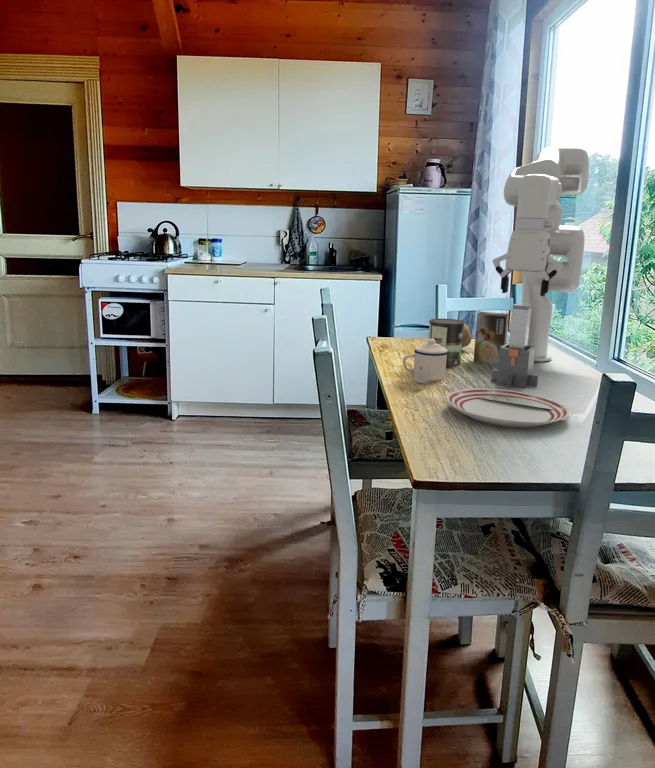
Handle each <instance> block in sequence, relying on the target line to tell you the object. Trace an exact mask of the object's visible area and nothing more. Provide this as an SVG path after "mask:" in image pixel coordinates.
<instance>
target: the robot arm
mask: <svg viewBox="0 0 655 768" xmlns="http://www.w3.org/2000/svg"><path fill="white" fill-rule="evenodd" d="M589 159H590V158H589V155H588V152H587V150H586V149H585V148H584V147H583V146H577V145H576V146H573V145H572V146H570V145H569V146H548V147H545V148H543V149H541V150H539V152H538V153H537V154H536V156H535V158H534V161H532V162H530V163H526V164H524V165H520V166H519V167H515V168H514V169H513V170H511V172H509V175H508V177H507V178H506V181H505V184H504V187H503V199H504V202H505V203H506V204H507V205H509V206H512V207H517V209H516V219H515V227H514V228H515V229H514V230H512V232H511V235H510V238H509V242H508V245H507V247H508V248H507V251H506V253H504V254H502V255H500V256H498V257H495V258H493V259H492V262H493V263H492V264H493V265H494V269H495V272H497V273H498V274H499V277H501V278H500V279H501V280H500V290H501V291H502V292H501V293H502V294H506V293H508V290H509V284H510V283H509V281H510V277H509V274H511V273H512V272H521V286H522V290H521V291H522V297H521V304H529V305H532V308H531V317H530V326H529V335H528V344H527V346H535V355H534V363H536V362H537V363H538V362H540V363H542V362H549V361H552V355H551V354H549V353H548V346H549V340H550V339H549V338H550V331H551V321H552V313H553V303H552V301H551V299H550V297H549V296H548V295H547V293H549V292H557V293H573V292H576V291H577V289H578V288H579V285H580V281H581V274H582V267H583V266H582V265H583V259H584V249H585V241H586V240H585V239H586V238H585V233H584V230H583V229H582V228H581V227H579V226H576V225H575V226H574V225H562V219H563V206H562V205H561V203H560V201H559V200H560V199H561V197H562V195H563V196H564V195H565V196H577V195H581V194H583V193H584V192H585V191H586V190H587V188H588V184H589V176H590V175H589V173H590V172H589V171H590V169H589V168H590V161H589ZM554 257H558V258H565V259H566V260H567V261H565V260H564V261H563V260H562V261H561V260H558V259H556V258H554ZM503 261H505V268H504V269H503V267H502V265H501V262H503Z"/></svg>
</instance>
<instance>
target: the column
mask: <svg viewBox="0 0 655 768" xmlns="http://www.w3.org/2000/svg"><path fill="white" fill-rule="evenodd" d="M531 308H532V305H529V304H522V303H514V304H512V308H511V310H512V311H511V321H510V330H509V338H508V339H509V340H508V343H509V348H512V349H520V350H527V344H528V335H529V326H530V317H531Z"/></svg>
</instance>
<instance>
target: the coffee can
mask: <svg viewBox="0 0 655 768" xmlns="http://www.w3.org/2000/svg"><path fill="white" fill-rule="evenodd" d="M464 323H465V321H464V320H460V319H455V318H432V319H429V327H428V330H429V331H428V340H429V339H434V340H435V343H436V344H439V345H440V346H441V347H444V348H446V349H447V351H448V354H447V359H446V371H448V370H450V369H451V368H453V367H457V366H460V365H461V364H462V363H461V362H462V350H463V348H462V341H463V328H464Z"/></svg>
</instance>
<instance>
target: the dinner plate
mask: <svg viewBox="0 0 655 768" xmlns="http://www.w3.org/2000/svg"><path fill="white" fill-rule="evenodd" d="M482 397H505V398H506V397H507V398H515V399H523V400H528V401H532V402H537V403H540V404H542V405H545V406H547V407H549V408H546V407H539V406H533V405H527V404H520V403H513V402H508V401H501V400H494V399H489V398H482ZM445 399H446V402H447V403H448V405H450V406H451V407H452V408H453V409H455V410H457V411H458V412H460V413H462V414H463V415H466V416H468V417H470V418H472V419H474V420H476V421H480V422H483V423H486V424H489V425H494V426H500V427H509V428H510V427H511V428H533V427H532V426H534V427H538V425H539V426H544V425H548V424H553V423H556V422H560V421H562V420H566V419H567V418H568V417H569V416H570V410H569V409H568V407H566V406H565V405H564V404H562V403H559V402H558V401H555V400H554V399H550V398H547V397H544V396H540V395H536V394H532V393H528V392H523V391H516V390H509V389H501V388H499V389H498V388H466V389H460V390H459V389H458V390H455V391H453V392H450V393H449V394H447V395H446V398H445Z"/></svg>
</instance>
